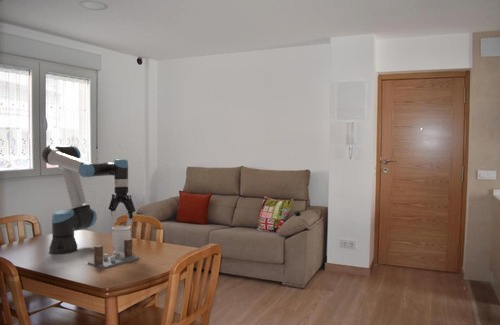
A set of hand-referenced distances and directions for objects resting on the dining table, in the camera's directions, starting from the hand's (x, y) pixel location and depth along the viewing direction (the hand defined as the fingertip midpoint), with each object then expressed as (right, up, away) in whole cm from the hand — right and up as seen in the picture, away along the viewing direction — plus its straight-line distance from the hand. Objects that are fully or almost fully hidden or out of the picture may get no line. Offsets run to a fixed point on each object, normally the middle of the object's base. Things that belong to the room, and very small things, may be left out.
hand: (121, 223), depth 238 cm
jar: (0, -18, +1) cm, 18 cm away
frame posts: (+1, -18, -17) cm, 25 cm away
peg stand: (+1, -18, -17) cm, 25 cm away
